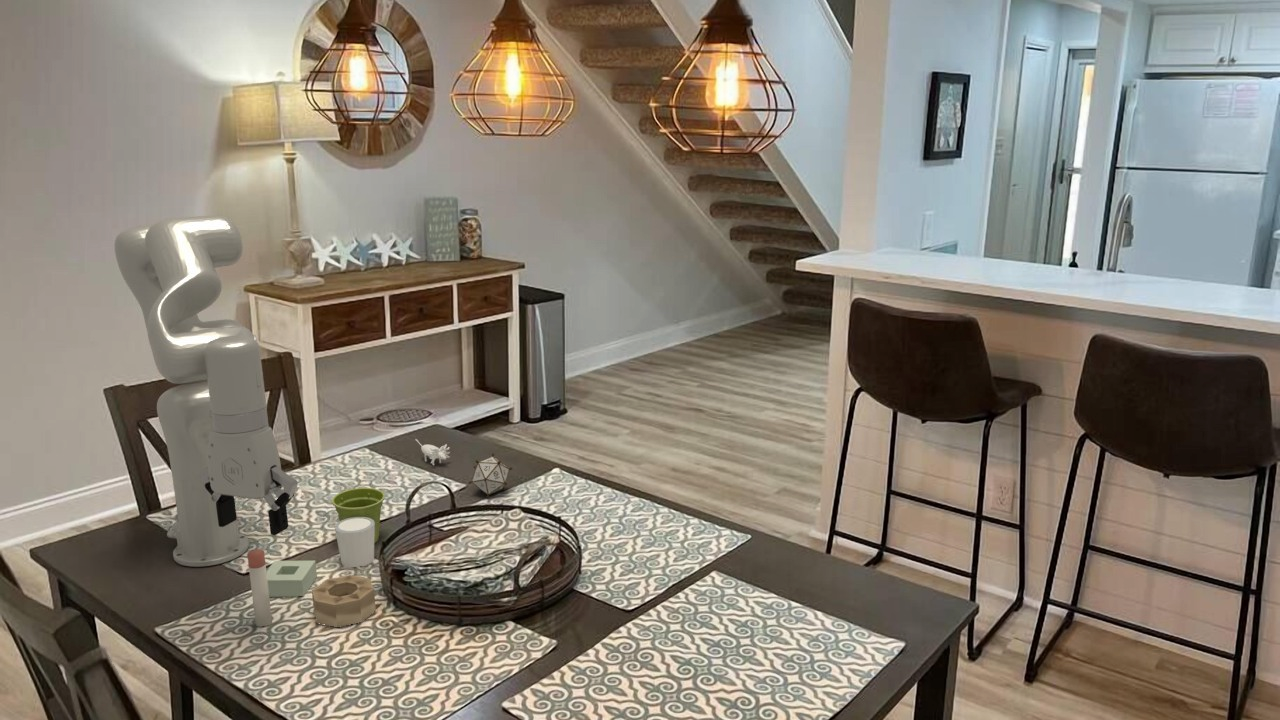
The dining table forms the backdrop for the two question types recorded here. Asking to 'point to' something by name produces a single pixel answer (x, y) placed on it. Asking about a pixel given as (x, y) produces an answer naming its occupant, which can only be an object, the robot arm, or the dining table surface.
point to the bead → (343, 600)
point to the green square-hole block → (290, 578)
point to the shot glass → (356, 541)
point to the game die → (490, 475)
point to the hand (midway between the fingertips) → (253, 527)
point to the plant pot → (360, 505)
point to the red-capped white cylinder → (259, 587)
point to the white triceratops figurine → (434, 452)
